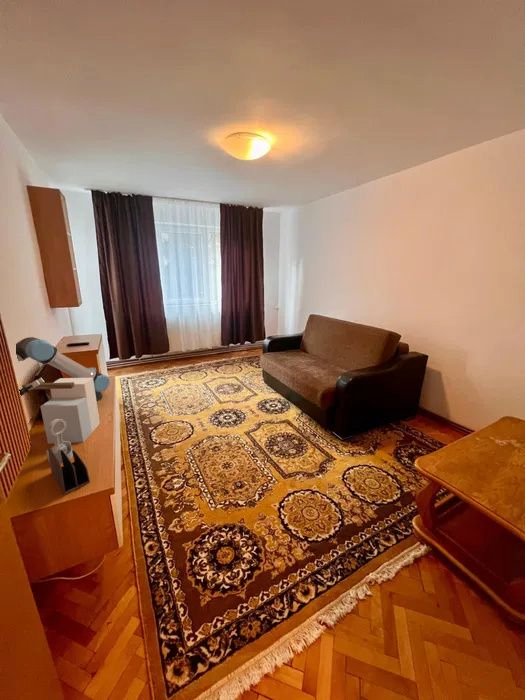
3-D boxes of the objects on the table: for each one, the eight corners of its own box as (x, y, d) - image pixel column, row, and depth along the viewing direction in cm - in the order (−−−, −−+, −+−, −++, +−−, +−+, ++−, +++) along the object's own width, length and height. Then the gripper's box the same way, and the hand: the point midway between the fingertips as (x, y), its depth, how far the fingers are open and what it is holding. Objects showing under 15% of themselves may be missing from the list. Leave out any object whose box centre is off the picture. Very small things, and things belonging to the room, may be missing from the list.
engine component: (43, 462, 137) (60, 465, 136) (35, 425, 132) (53, 427, 130) (62, 449, 148) (79, 452, 146) (55, 414, 142) (72, 416, 141)
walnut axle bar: (26, 387, 150) (25, 383, 149) (74, 386, 152) (74, 382, 152) (22, 389, 147) (22, 385, 147) (71, 388, 150) (71, 384, 149)
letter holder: (64, 495, 118) (58, 466, 114) (51, 473, 131) (45, 446, 127) (90, 482, 125) (85, 455, 121) (76, 463, 138) (71, 437, 134)
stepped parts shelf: (68, 424, 172) (60, 378, 164) (99, 423, 174) (92, 377, 166) (48, 443, 153) (37, 392, 145) (83, 442, 155) (74, 391, 147)
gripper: (19, 401, 158) (54, 381, 157) (-4, 415, 143) (35, 392, 142) (9, 391, 156) (45, 370, 155) (-15, 403, 141) (24, 380, 140)
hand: (40, 381), depth 148 cm, fingers closed on walnut axle bar, 3 cm apart
